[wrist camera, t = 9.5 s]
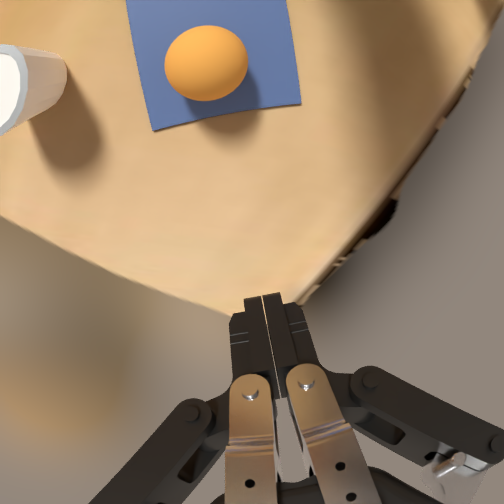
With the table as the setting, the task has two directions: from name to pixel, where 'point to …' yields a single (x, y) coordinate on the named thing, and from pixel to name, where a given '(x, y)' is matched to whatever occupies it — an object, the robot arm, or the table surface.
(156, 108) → the mark
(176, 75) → the ball
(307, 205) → the table surface
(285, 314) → the robot arm
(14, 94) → the white cup
